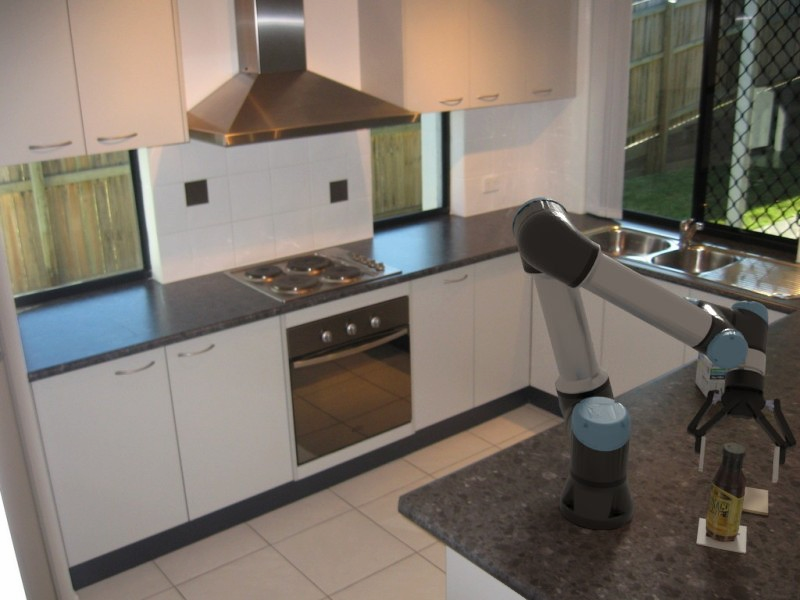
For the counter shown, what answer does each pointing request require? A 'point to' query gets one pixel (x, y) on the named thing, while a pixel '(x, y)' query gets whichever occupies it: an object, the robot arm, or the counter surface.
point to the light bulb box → (709, 376)
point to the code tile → (732, 545)
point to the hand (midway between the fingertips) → (737, 475)
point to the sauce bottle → (727, 495)
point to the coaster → (755, 501)
